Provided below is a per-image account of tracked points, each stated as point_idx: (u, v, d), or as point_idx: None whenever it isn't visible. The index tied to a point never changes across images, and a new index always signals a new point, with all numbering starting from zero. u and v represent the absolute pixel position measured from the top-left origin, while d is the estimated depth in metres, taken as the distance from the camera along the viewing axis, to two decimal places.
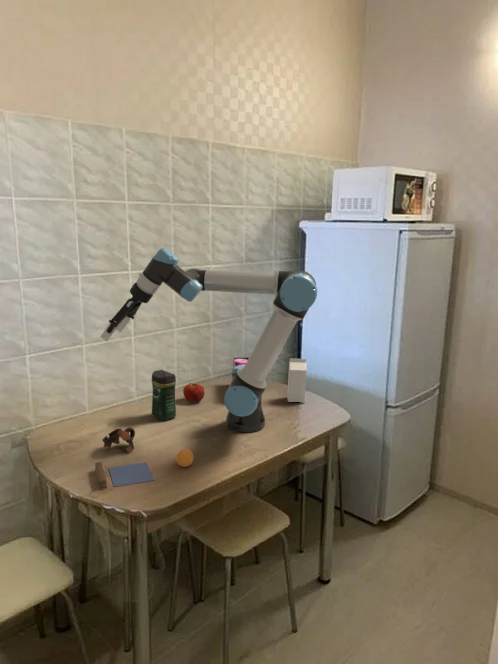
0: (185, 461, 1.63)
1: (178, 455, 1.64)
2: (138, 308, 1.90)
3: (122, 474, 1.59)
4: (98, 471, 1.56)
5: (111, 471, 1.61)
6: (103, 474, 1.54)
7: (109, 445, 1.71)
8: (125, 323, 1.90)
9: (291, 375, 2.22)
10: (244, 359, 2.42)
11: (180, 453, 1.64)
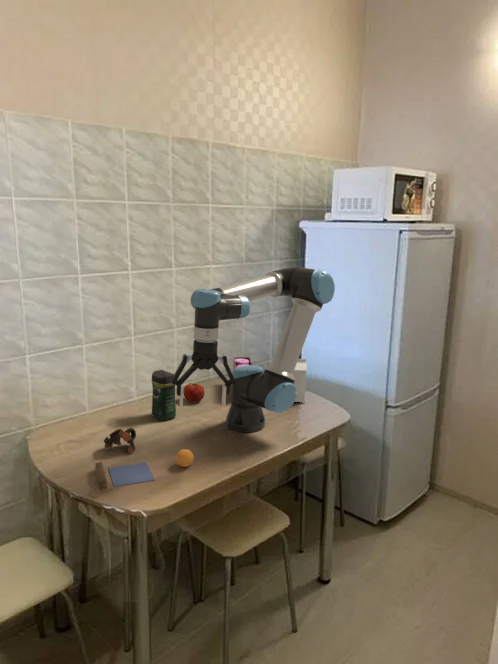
0: (185, 461, 1.63)
1: (178, 455, 1.64)
2: (177, 370, 1.63)
3: (122, 474, 1.59)
4: (98, 471, 1.56)
5: (111, 471, 1.61)
6: (103, 474, 1.54)
7: (110, 446, 1.71)
8: None
9: None
10: (244, 359, 2.43)
11: (180, 453, 1.64)
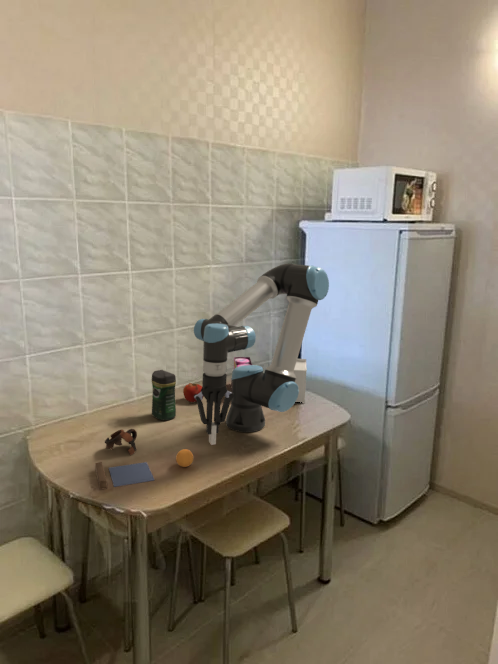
0: (185, 461, 1.63)
1: (178, 455, 1.64)
2: None
3: (122, 474, 1.59)
4: (98, 471, 1.56)
5: (111, 471, 1.61)
6: (103, 474, 1.54)
7: (111, 447, 1.70)
8: None
9: None
10: (245, 359, 2.43)
11: (180, 453, 1.64)
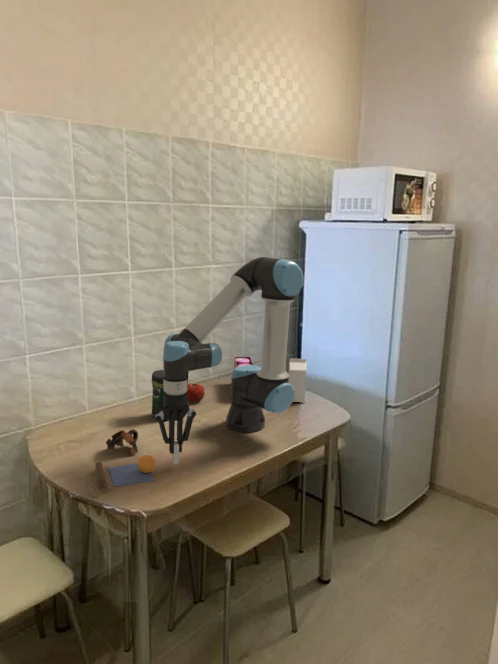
0: (150, 466, 1.59)
1: (154, 459, 1.61)
2: None
3: (122, 474, 1.59)
4: (98, 471, 1.56)
5: (111, 471, 1.61)
6: (103, 474, 1.54)
7: (113, 447, 1.70)
8: None
9: (291, 375, 2.22)
10: (245, 358, 2.43)
11: None
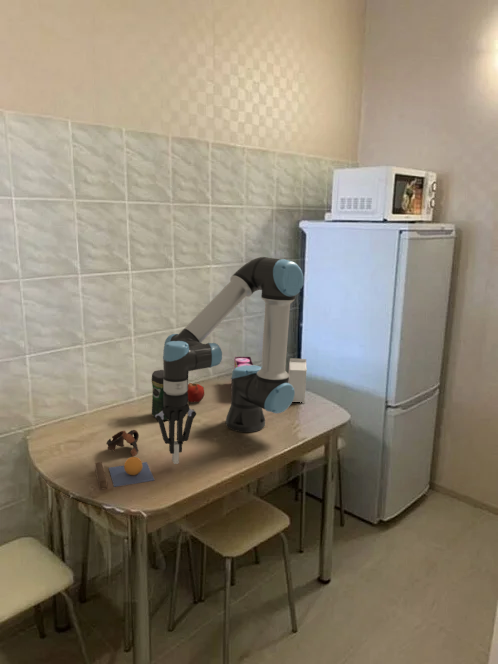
0: (133, 468, 1.57)
1: (129, 460, 1.58)
2: None
3: (122, 474, 1.59)
4: (98, 471, 1.56)
5: (111, 471, 1.61)
6: (103, 474, 1.54)
7: (113, 448, 1.70)
8: None
9: (291, 375, 2.22)
10: (245, 358, 2.44)
11: (132, 459, 1.58)
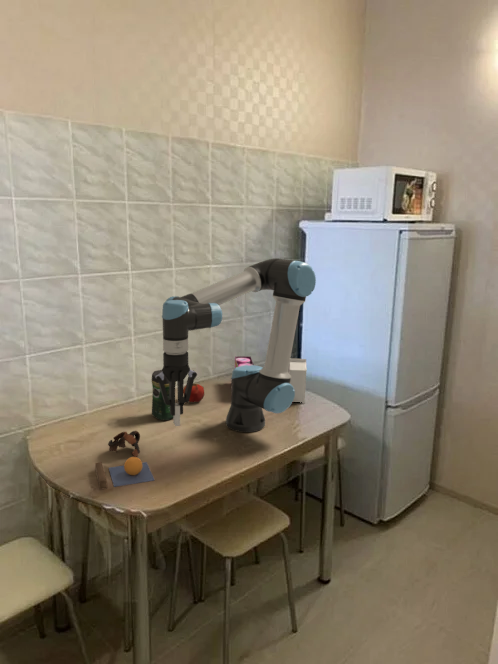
0: (133, 468, 1.57)
1: (129, 460, 1.58)
2: None
3: (122, 474, 1.59)
4: (98, 471, 1.56)
5: (111, 471, 1.61)
6: (103, 474, 1.54)
7: (115, 449, 1.69)
8: None
9: (291, 375, 2.22)
10: (245, 358, 2.44)
11: (132, 459, 1.58)
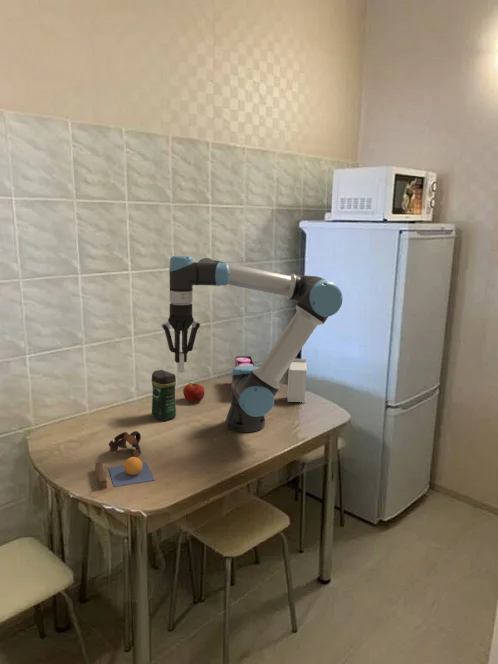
0: (133, 468, 1.57)
1: (129, 460, 1.58)
2: None
3: (122, 474, 1.59)
4: (98, 471, 1.56)
5: (111, 471, 1.61)
6: (103, 474, 1.54)
7: (116, 449, 1.68)
8: None
9: (291, 375, 2.22)
10: (246, 358, 2.44)
11: (132, 459, 1.58)
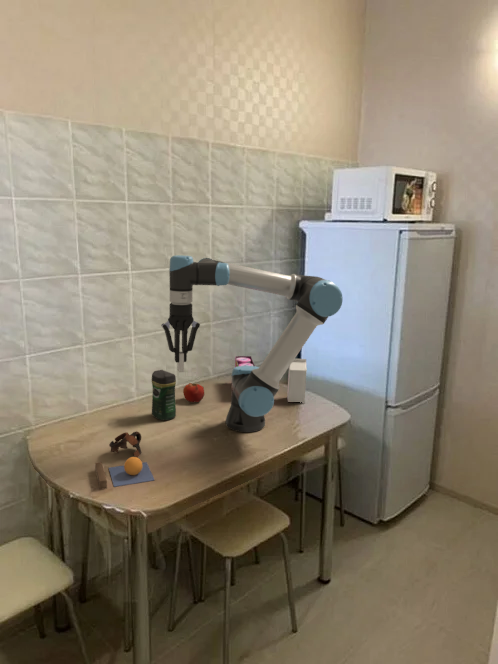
0: (133, 468, 1.57)
1: (129, 460, 1.58)
2: None
3: (122, 474, 1.59)
4: (98, 471, 1.56)
5: (111, 471, 1.61)
6: (103, 474, 1.54)
7: (116, 450, 1.68)
8: None
9: (291, 375, 2.22)
10: (246, 358, 2.45)
11: (132, 459, 1.58)
